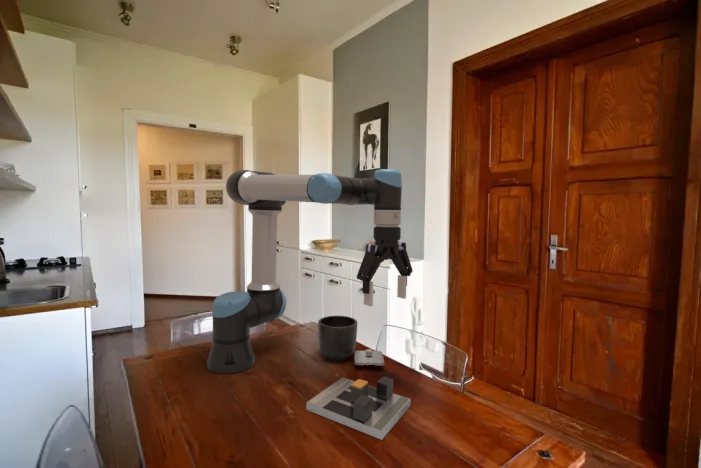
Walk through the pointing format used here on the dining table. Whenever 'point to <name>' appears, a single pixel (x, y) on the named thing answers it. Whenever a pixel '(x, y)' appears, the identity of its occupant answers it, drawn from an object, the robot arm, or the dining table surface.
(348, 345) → the planter
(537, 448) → the dining table surface
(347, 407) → the panel
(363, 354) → the light switch
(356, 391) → the block
